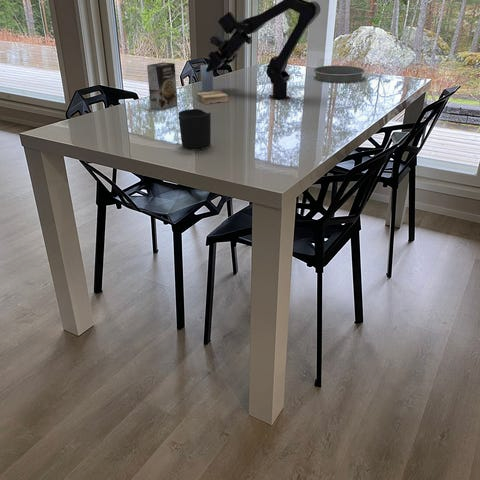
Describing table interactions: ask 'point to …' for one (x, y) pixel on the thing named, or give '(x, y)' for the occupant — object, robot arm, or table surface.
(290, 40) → the robot arm
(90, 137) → the table surface
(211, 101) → the oak base block
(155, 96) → the coffee box
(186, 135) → the pen holder
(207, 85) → the canister
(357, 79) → the cake pan
